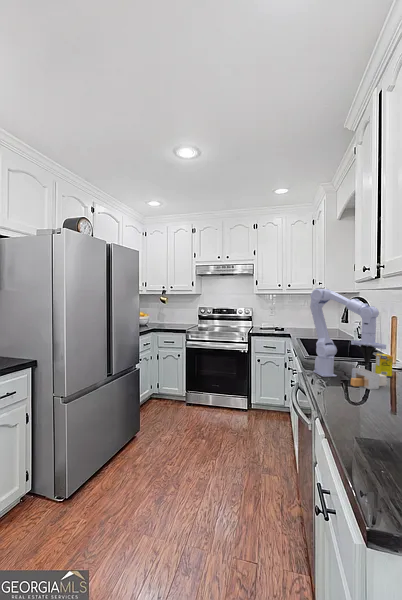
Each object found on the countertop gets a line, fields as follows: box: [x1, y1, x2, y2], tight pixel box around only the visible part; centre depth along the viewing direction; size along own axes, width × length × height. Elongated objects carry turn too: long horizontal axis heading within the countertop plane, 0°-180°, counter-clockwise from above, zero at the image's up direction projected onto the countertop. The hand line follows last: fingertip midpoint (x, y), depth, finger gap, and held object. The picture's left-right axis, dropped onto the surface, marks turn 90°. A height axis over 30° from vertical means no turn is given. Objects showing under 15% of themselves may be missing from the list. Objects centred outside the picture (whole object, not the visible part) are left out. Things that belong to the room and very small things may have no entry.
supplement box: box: [374, 353, 394, 379], centre depth 158 cm, size 6×6×11 cm
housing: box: [351, 367, 380, 390], centre depth 141 cm, size 12×5×6 cm, turn 10°
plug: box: [350, 374, 389, 387], centre depth 141 cm, size 4×17×4 cm, turn 101°
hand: (367, 362), depth 140 cm, fingers closed
